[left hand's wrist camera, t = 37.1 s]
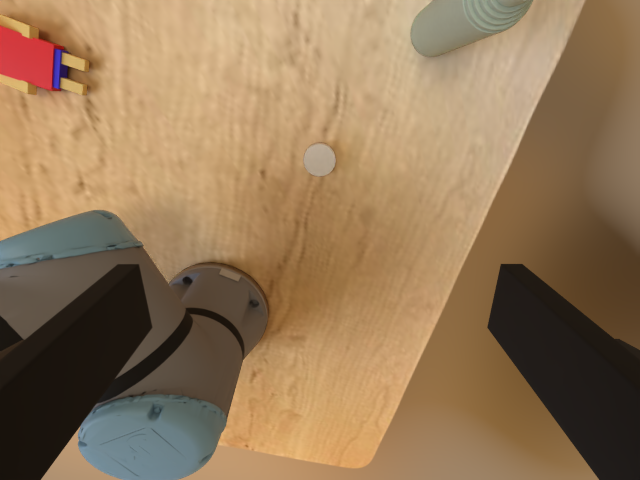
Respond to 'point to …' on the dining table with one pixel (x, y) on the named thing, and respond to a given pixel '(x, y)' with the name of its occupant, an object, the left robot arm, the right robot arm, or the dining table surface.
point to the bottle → (462, 23)
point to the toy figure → (35, 60)
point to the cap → (319, 159)
